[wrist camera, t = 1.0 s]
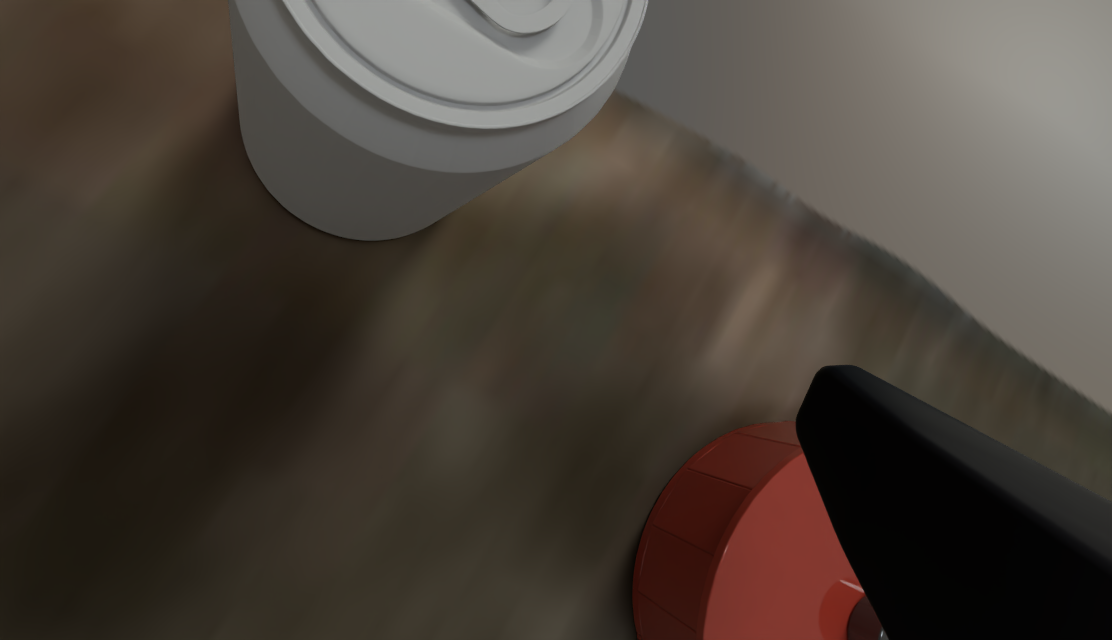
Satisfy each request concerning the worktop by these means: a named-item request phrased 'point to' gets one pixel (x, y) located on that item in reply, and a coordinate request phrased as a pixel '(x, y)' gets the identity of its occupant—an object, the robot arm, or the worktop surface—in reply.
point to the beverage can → (415, 99)
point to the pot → (698, 525)
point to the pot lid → (783, 569)
